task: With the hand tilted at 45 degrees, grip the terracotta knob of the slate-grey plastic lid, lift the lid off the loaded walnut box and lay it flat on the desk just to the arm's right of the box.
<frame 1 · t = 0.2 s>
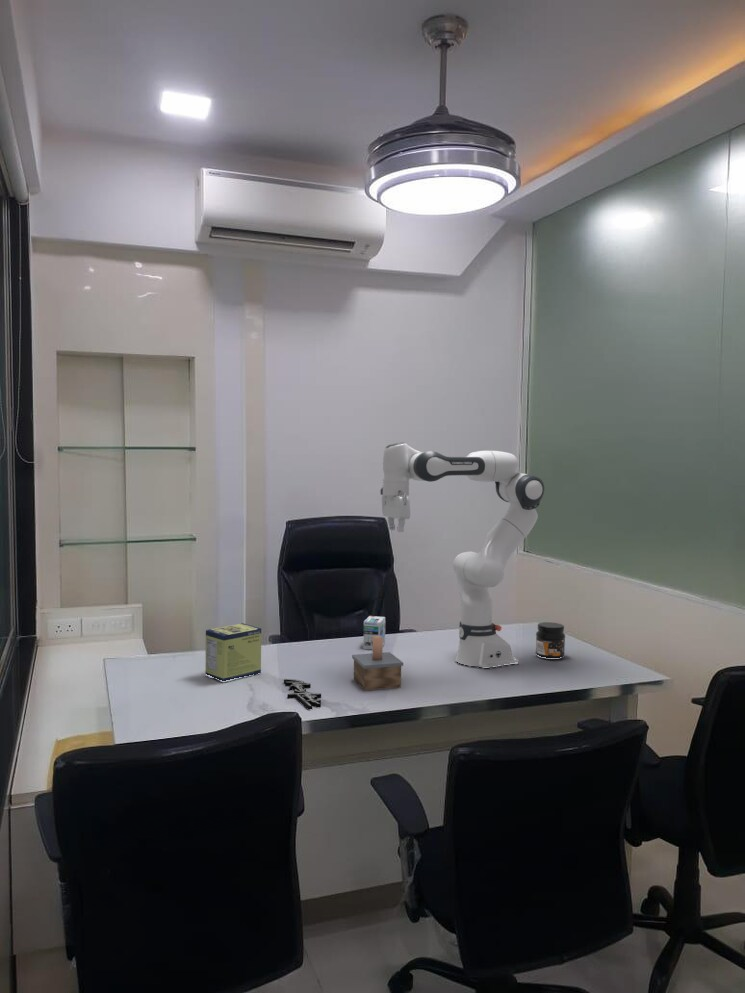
hand: (396, 531, 257), 48 cm above the table, tool pointing down, fingers open, 8 cm apart
supplement container: (549, 657, 279), on the table
box: (376, 683, 244), on the table
light bulb box: (374, 647, 290), on the table
lid: (377, 666, 244), point 5 cm above the table, touching box
nameplate: (301, 696, 231), on the table
protein box: (233, 675, 250), on the table
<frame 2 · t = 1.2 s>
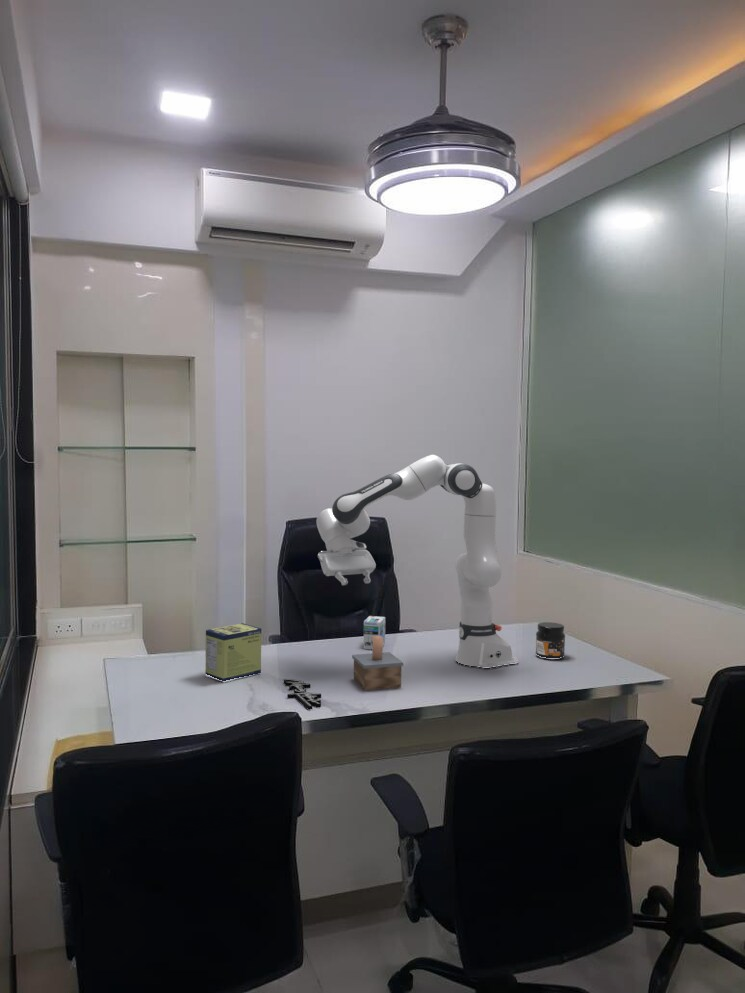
hand: (357, 583, 252), 31 cm above the table, tool tilted 45°, fingers open, 8 cm apart
nothing on the table moved.
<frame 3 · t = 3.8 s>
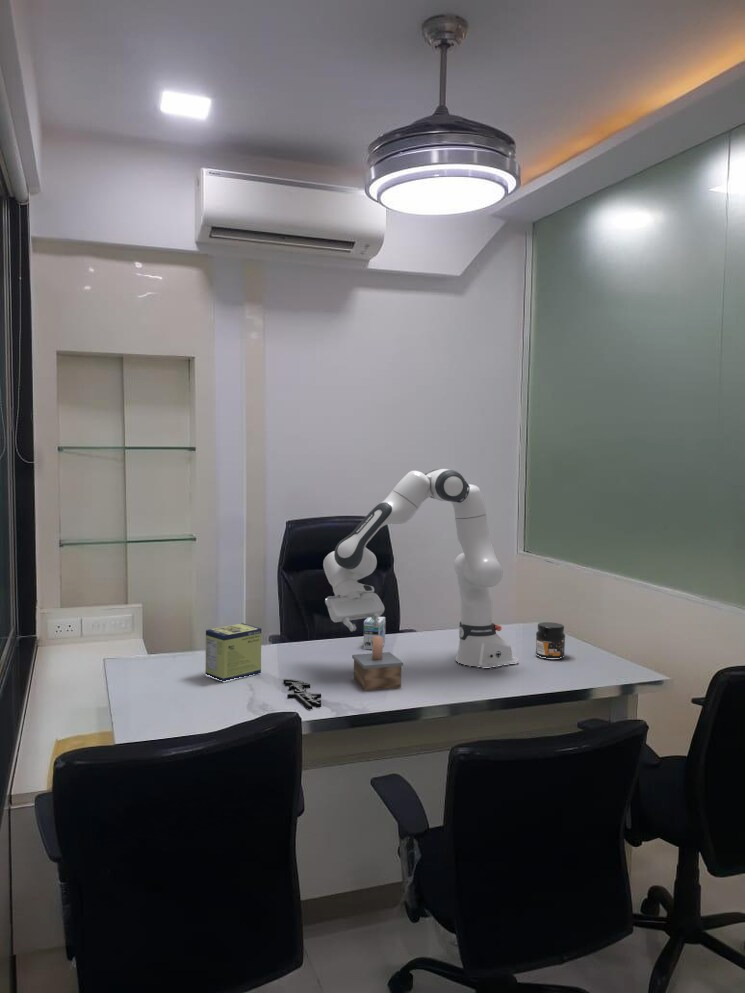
hand: (365, 628, 248), 16 cm above the table, tool tilted 45°, fingers open, 8 cm apart
nothing on the table moved.
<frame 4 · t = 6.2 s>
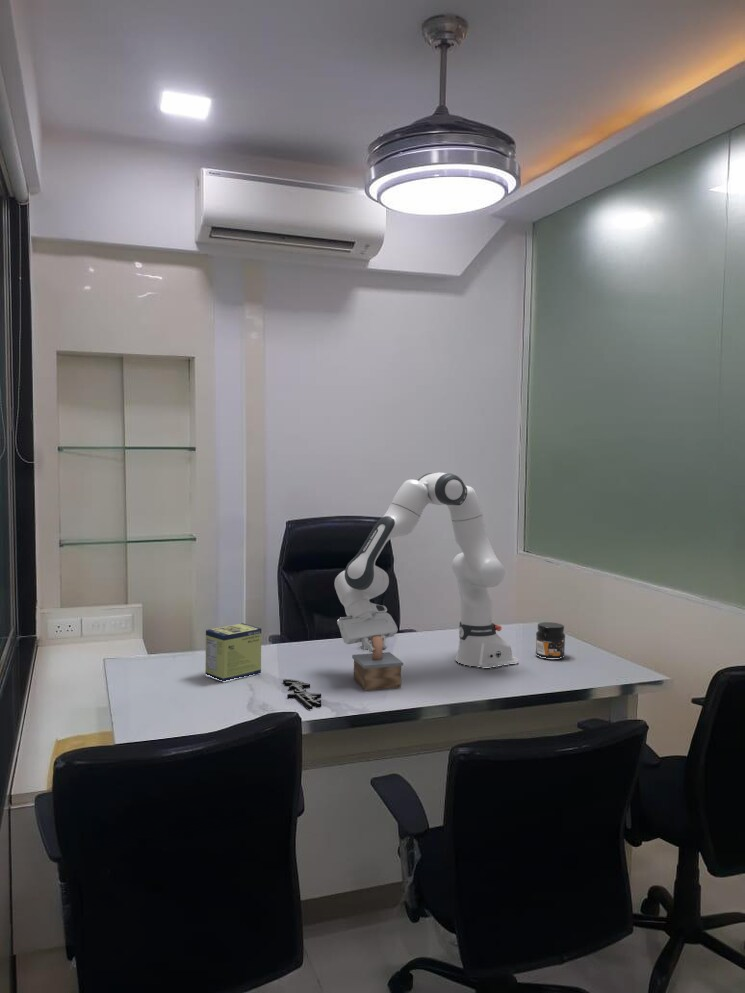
hand: (378, 650, 243), 11 cm above the table, tool tilted 45°, fingers closed on lid, 3 cm apart
lid: (377, 666, 244), point 5 cm above the table, touching box, gripper
everything else where it was.
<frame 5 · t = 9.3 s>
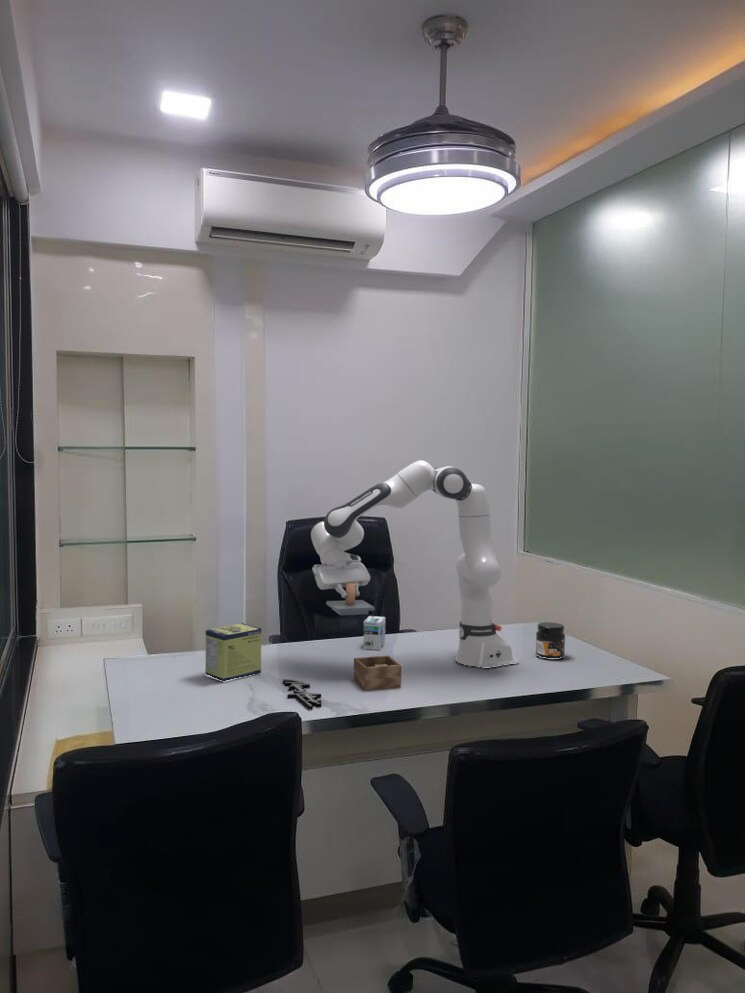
hand: (351, 596, 254), 26 cm above the table, tool tilted 45°, fingers closed on lid, 3 cm apart
lid: (350, 611, 255), point 21 cm above the table, touching gripper
everything else where it was.
when the fingers open (7 cm above the table, at t = 12.3 s): lid drops 2 cm, on the table.
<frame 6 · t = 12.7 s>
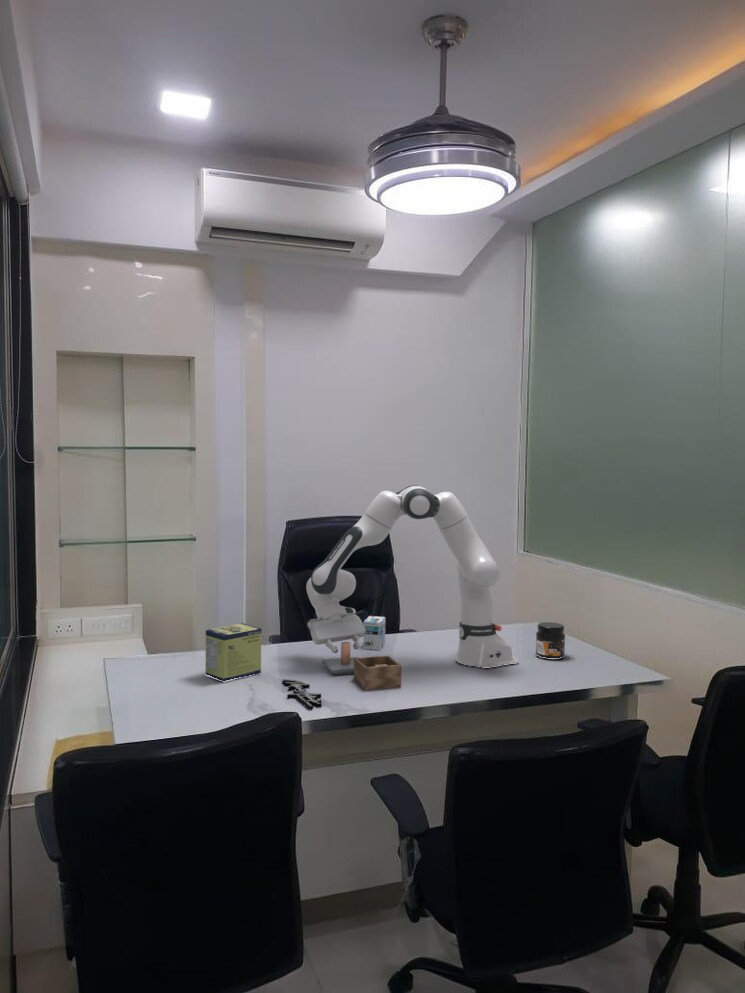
hand: (346, 650, 257), 7 cm above the table, tool tilted 45°, fingers open, 8 cm apart
lid: (345, 670, 258), on the table
everything else where it was.
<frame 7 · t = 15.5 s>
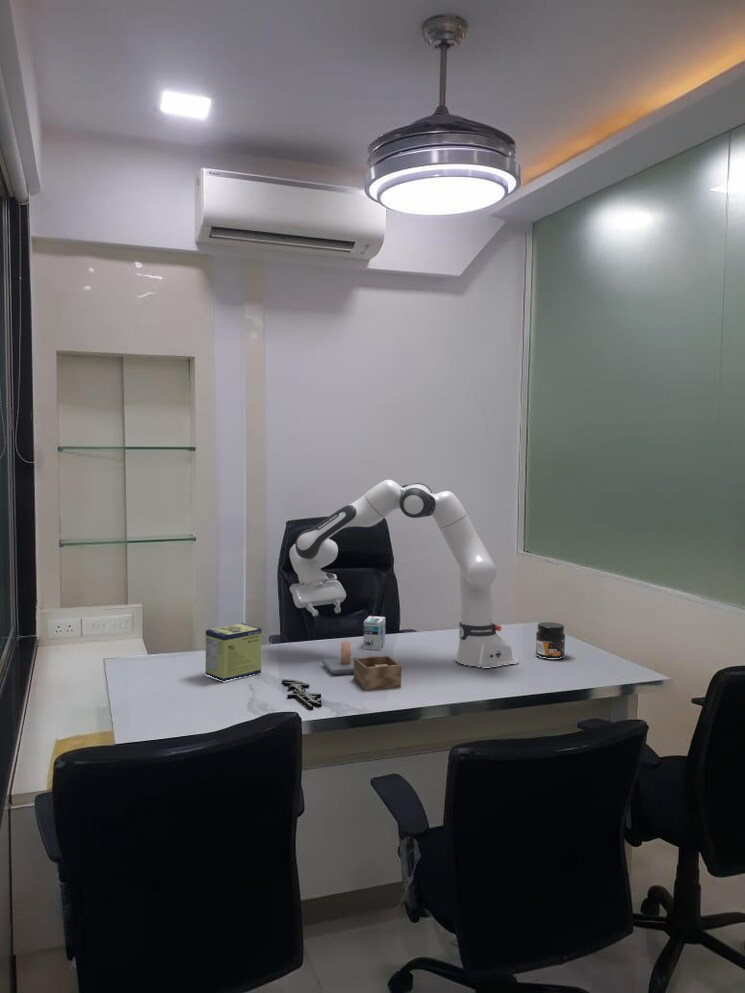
hand: (327, 613, 267), 17 cm above the table, tool tilted 45°, fingers open, 8 cm apart
nothing on the table moved.
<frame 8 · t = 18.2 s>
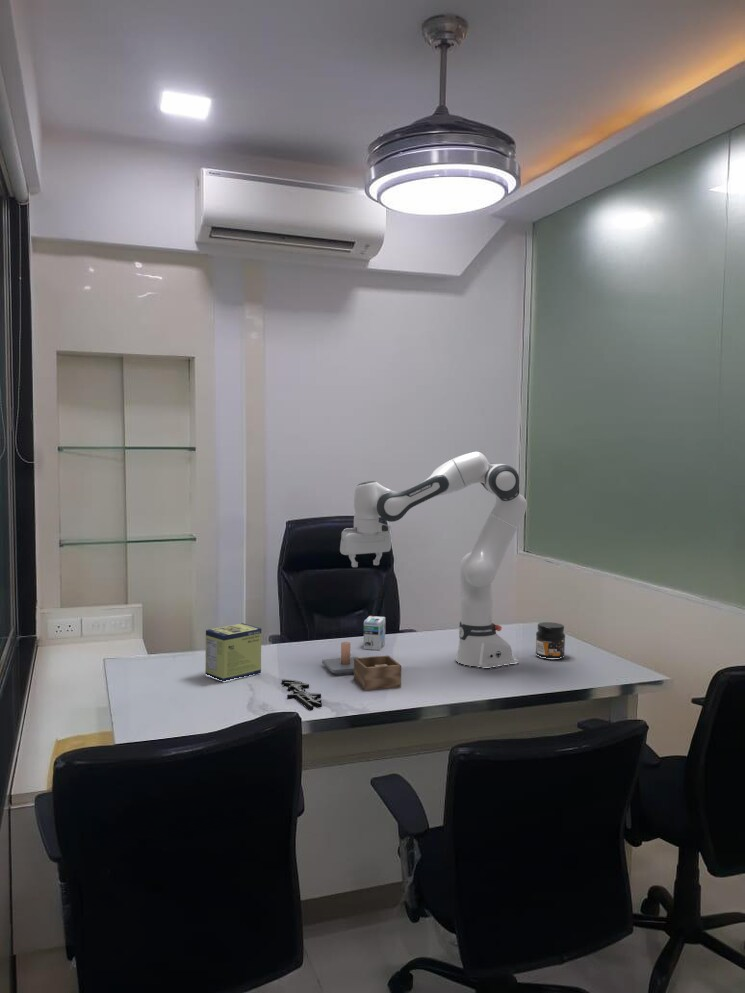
hand: (365, 565, 268), 34 cm above the table, tool pointing down, fingers open, 8 cm apart
nothing on the table moved.
at the end: lid inside the target area (0.1 cm from its centre), on the table; lid tilted 0°; lid touching table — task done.
